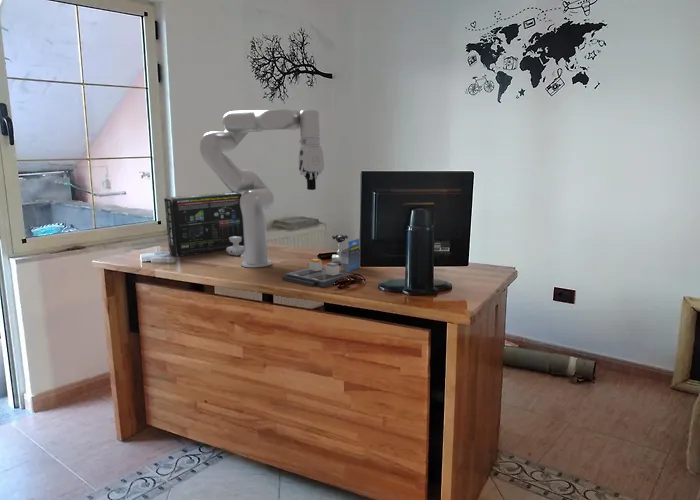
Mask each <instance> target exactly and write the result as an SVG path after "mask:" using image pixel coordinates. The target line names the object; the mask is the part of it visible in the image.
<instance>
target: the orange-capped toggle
mask: <svg viewBox="0 0 700 500" xmlns="http://www.w3.org/2000/svg"><path fill="white" fill-rule="evenodd" d="M308 264H309V265H308V268H309V270H313V271H319V270H322V268H323V261H322V259H319V258H311V259H309V261H308Z"/></svg>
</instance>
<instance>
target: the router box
mask: <svg viewBox="0 0 700 500" xmlns="http://www.w3.org/2000/svg"><path fill="white" fill-rule="evenodd" d="M242 194H243V193H234V192H232V191H230V192H229V191H228V192H219V193H218V192H217V193H204V194H192V195H190V194H189V195H181V196H179V195H178V196H170V197H169V196H167V197H164V198H163V200H164V208H165V219H166V230H167V242H168V243H167V244H168V251H169V252H170V253H171V254H172V256H174V257H182V256H181V255H184V256H188V255H187V254H192V255H196V254H195V253H199V254H204V253H203V252H206V253H211V252H218V251H226V248H227V247H230V246H233V242H230V240H229V237H233V236H238V237H242V240H241V242H239V246H244V234H243V219H242V213H241V209H240V198H241V196H242ZM170 253H169V254H170ZM171 254H170V255H171Z"/></svg>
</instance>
